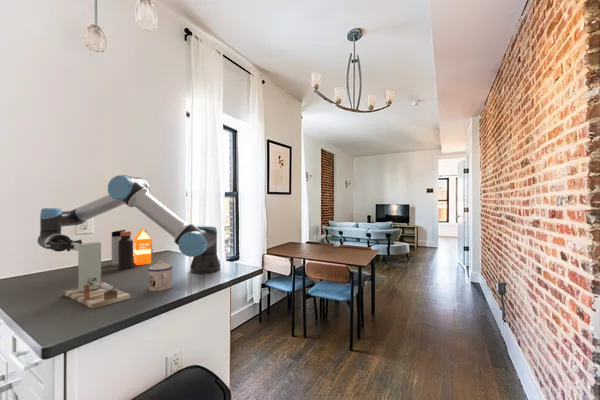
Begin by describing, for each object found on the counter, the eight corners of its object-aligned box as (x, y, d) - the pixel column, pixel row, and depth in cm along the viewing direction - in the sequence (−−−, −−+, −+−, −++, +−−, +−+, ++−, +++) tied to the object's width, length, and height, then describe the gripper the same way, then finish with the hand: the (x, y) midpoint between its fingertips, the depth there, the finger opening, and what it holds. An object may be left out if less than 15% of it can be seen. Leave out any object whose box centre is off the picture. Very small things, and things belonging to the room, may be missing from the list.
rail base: (64, 295, 109) (64, 278, 109) (99, 286, 119) (99, 271, 119) (93, 308, 95) (93, 289, 95) (130, 298, 105) (130, 281, 105)
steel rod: (80, 282, 113) (80, 276, 113) (86, 281, 115) (86, 275, 115) (107, 292, 100) (107, 286, 100) (114, 291, 102) (114, 284, 102)
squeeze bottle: (155, 257, 182) (155, 229, 182) (147, 259, 174) (147, 231, 174) (143, 256, 183) (143, 229, 183) (135, 259, 175) (135, 230, 175)
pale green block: (78, 289, 109) (78, 243, 109) (96, 285, 114) (96, 241, 114) (82, 291, 107) (82, 244, 107) (101, 287, 112) (101, 242, 112)
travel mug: (123, 265, 159) (123, 230, 159) (110, 266, 157) (110, 230, 157) (126, 263, 165) (126, 229, 165) (113, 264, 162) (113, 229, 162)
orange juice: (148, 260, 171) (148, 228, 171) (151, 263, 164) (151, 229, 164) (133, 262, 166) (133, 229, 166) (136, 265, 159) (136, 230, 159)
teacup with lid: (145, 288, 118) (145, 260, 118) (168, 283, 124) (168, 257, 124) (153, 295, 109) (153, 265, 109) (177, 290, 115) (177, 261, 115)
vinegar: (136, 267, 155) (136, 231, 155) (125, 270, 148) (125, 232, 148) (126, 266, 156) (126, 230, 156) (115, 269, 150) (115, 232, 150)
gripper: (75, 248, 134) (97, 254, 121) (39, 252, 123) (59, 259, 110) (75, 233, 134) (97, 236, 121) (39, 235, 123) (59, 240, 110)
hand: (79, 247), depth 116 cm, fingers closed
